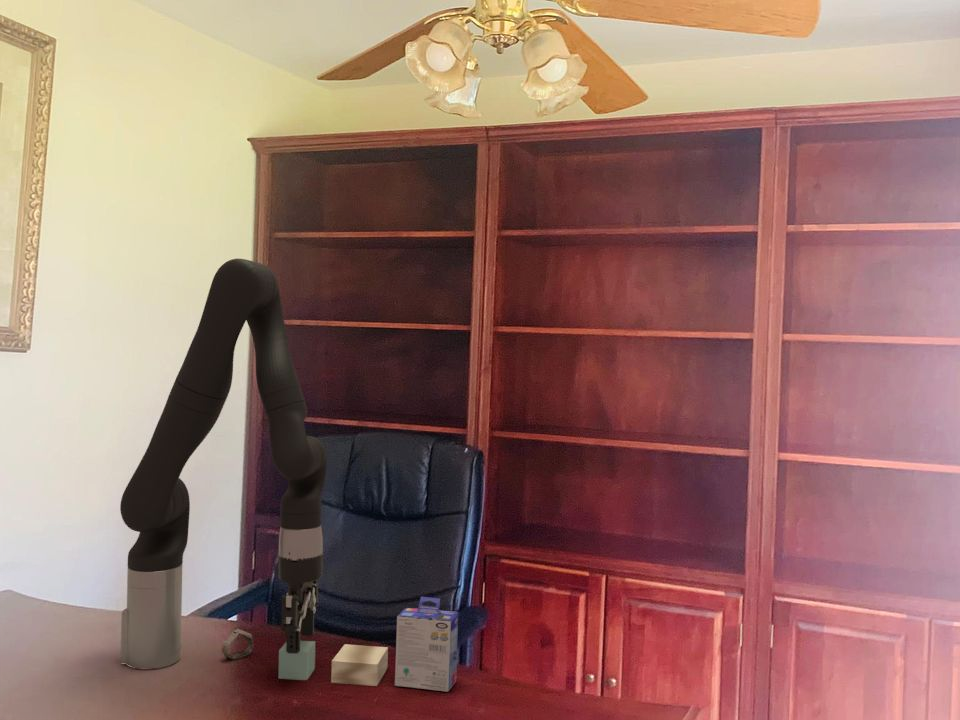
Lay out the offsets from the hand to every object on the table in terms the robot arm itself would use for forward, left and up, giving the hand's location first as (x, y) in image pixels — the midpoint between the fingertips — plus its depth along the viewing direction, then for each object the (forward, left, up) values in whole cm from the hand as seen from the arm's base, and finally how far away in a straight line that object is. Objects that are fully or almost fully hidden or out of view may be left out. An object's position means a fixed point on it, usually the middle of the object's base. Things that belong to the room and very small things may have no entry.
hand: (300, 643), depth 144 cm
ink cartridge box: (+22, -1, -6) cm, 23 cm away
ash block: (+10, +1, -6) cm, 12 cm away
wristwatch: (-14, +6, -6) cm, 16 cm away
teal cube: (-1, 0, -5) cm, 5 cm away
